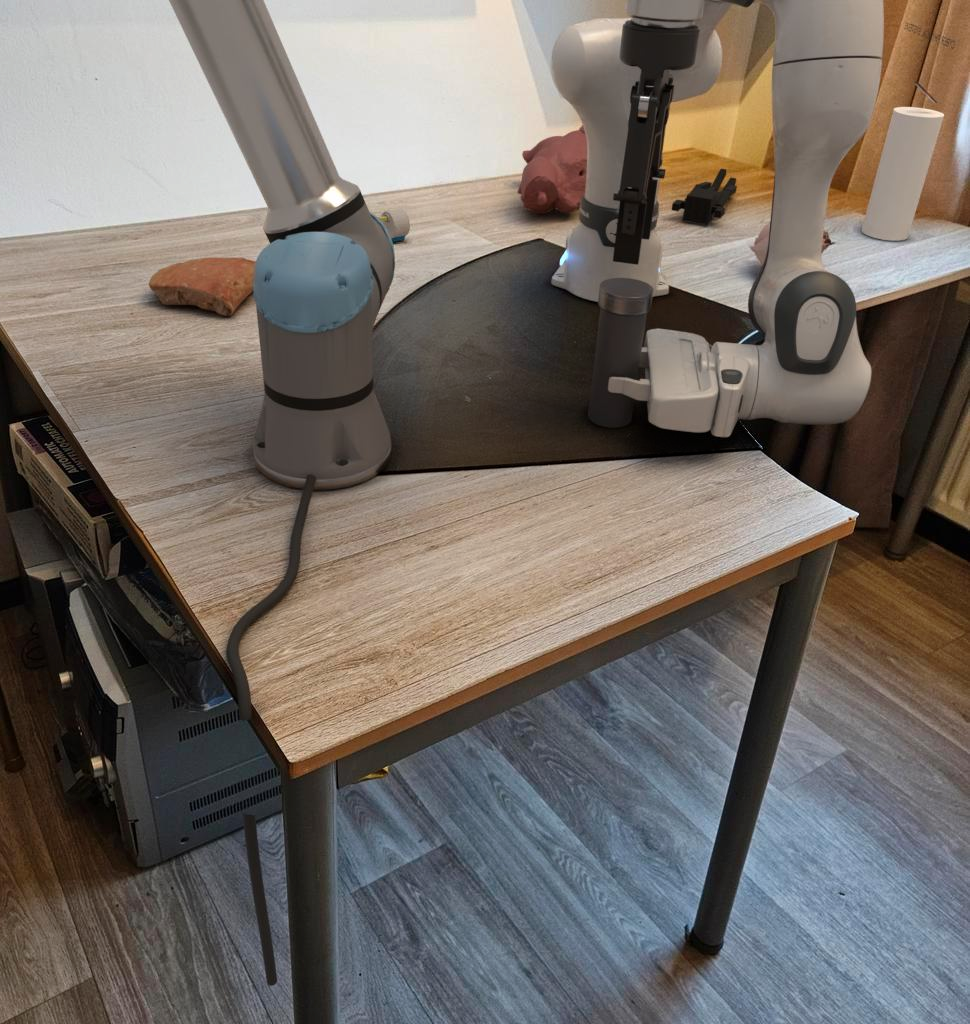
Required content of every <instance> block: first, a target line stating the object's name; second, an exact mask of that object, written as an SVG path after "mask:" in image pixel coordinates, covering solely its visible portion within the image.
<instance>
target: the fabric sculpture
mask: <svg viewBox="0 0 970 1024" xmlns="http://www.w3.org/2000/svg"><path fill="white" fill-rule="evenodd" d="M521 156H522V158H523V160H524V162H525V163H526V164H525V166H524V168H523V170H522V172H521V173H522V174H521V180H520V181H521V182H520V185H519V186H518V189H517V194H518V195H520V200H521V202H522V203H523V207H524V209H525V210H529V211H530V212H532V213H535V214H546V213H549V212H551V211H552V210H553V209H554V208H555V209H556V210H557V211H559V212H560V213H564V214H569V213H573V212H575V211H578V210H579V209H580V204H581V199H582V196H583V195H584V194H585V185H586V172H587V140H586V135H585V131H584V127H583V124H581V126H580V127H579V129H576V130H573V131H570V132H568V133H566V134H565V135H554V136H549V137H546V138H544V139H542V140H540V141H539V142H538V143H536V145H535V146H534V147H532V148H531V149H529V150H523V151H522V153H521Z"/></svg>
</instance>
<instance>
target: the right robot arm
mask: <svg viewBox="0 0 970 1024" xmlns="http://www.w3.org/2000/svg"><path fill="white" fill-rule="evenodd" d="M753 4H759V5H760V4H761V5H765V6H767V7H768V8H769V10H770V11H771V12H772V14H773V18H774V23H775V26H774V27H775V29H774V30H775V31H774V32H775V33H774V44H773V45H774V46H773V51H772V53H773V54H772V68H771V124H772V137H773V160H774V178H773V189H772V201H771V211H770V220H769V222H770V231H769V241H768V248H767V253H766V257H765V260H764V263H763V265H762V266H761V267H760V269H759V272H758V273H757V276H756V278H754V281H753V283H752V285H751V288H750V290H749V294H748V299H747V310H748V315H749V319H750V321H751V324H752V326H754V329H755V330H756V331H757V332H758V333H759V334H760V335H761V336H762V337H764V341H763V343H762V344H748V343H736V342H735V343H734V342H725V341H724V342H723V341H715V342H714V343H713V345H712V344H710V343H709V342H708V341H707V340H706V339H705V337H704V336H702V335H700V334H696V333H692V332H687V331H680V330H673V329H665V328H651V329H649V330H647V331H646V332H645V337H644V338H645V339H644V344H643V346H642V350H641V357H640V364H639V368H642V369H643V368H644V378H639V380H638V379H637V380H634V379H630V378H626V377H625V376H624V374H614V373H612V374H610V375H609V380H608V391H609V392H612V393H623V394H624V395H627V396H629V397H631V398H634V400H636V401H642V402H646V405H647V406H646V407H647V419H648V422H649V423H650V424H651V425H653V426H654V427H657V428H659V429H664V430H670V431H678V432H679V431H680V432H686V433H698V434H699V433H707V432H709V431H710V433H711V435H712V436H714V437H720V438H728V437H730V436H731V435H732V433H733V431H734V428H735V426H736V424H737V422H738V421H739V420H743V421H744V420H746V421H751V420H757V419H769V420H773V421H776V422H778V423H781V424H791V425H806V426H809V425H810V426H822V425H823V426H824V425H825V426H826V425H836V424H842V423H846V422H848V421H849V420H851V419H853V418H854V417H855V416H856V415H857V414H858V412H859V411H860V410H861V409H862V408H863V406H864V404H865V403H866V400H867V398H868V396H869V392H870V390H871V385H872V376H873V372H872V371H873V370H872V364H871V363H870V362H869V360H868V358H866V355H865V354H864V351H863V347H862V344H861V342H860V337H859V332H858V325H857V302H856V301H857V300H856V298H855V294H854V292H853V291H852V288H851V287H850V285H849V284H848V283H847V282H846V281H845V280H844V279H843V278H841V277H840V276H838V275H837V274H835V273H832V272H830V271H827V270H825V267H824V264H823V263H824V262H823V258H822V254H821V250H822V241H823V233H824V230H825V223H826V216H827V215H826V214H827V208H828V207H827V206H828V200H829V199H828V198H829V191H830V187H831V184H832V180H833V179H834V176H835V173H836V171H837V169H838V168H839V166H840V164H841V163H842V161H843V160H844V158H846V155H848V153H849V152H850V151H851V150H852V148H853V147H854V146H855V145H856V144H857V143H858V142H859V140H860V139H861V138H863V136H864V134H865V133H866V131H867V130H868V128H869V127H870V124H871V120H872V117H873V113H874V109H875V105H876V102H877V99H878V93H879V89H880V84H881V75H882V65H883V60H882V59H883V52H884V36H885V33H884V31H885V27H884V26H885V13H884V12H885V10H884V8H885V7H884V6H885V5H884V0H705V4H704V10H703V16H702V18H701V19H700V20H698V21H695V25H696V26H698V29H699V30H700V32H699V39H698V46H697V52H696V59H695V63H694V65H693V66H692V67H690V68H688V69H685V70H675V71H674V70H670V72H669V75H673V84H672V85H674V95H673V98H672V102H671V103H678V102H681V101H685V100H688V99H692V98H696V97H698V96H702V95H704V94H706V93H708V92H709V91H710V90H711V89H712V87H713V86H714V85H715V83H716V82H717V80H718V77H719V76H720V73H721V69H722V65H723V47H722V43H721V42H722V41H721V39H720V37H719V35H718V32H717V31H716V29H717V27H718V25H719V24H720V23H721V21H722V20H723V19H724V17H725V16H726V14H727V13H728V12H729V10H730V9H731V8H732V6H733V5H737V6H739V7H742V8H749V7H750V6H751V5H753ZM628 20H631V17H624V18H623V17H618V18H617V17H610V18H609V17H603V18H602V17H601V18H599V17H598V18H594V19H590V20H585V21H581V22H578V23H575V24H574V23H573V24H571V25H567V26H566V27H564V28H563V29H562V31H561V32H560V33H559V35H558V36H557V38H556V40H555V42H554V44H553V47H552V50H551V54H550V66H549V67H550V74H551V79H552V81H553V84H554V86H555V88H556V90H557V91H558V93H559V94H560V95H561V97H562V98H563V99H564V100H566V102H568V103H569V104H570V106H572V108H573V109H574V110H575V112H576V114H577V116H578V118H579V120H580V122H581V125H583V127H584V131H585V135H586V140H587V172H586V185H585V194H584V195H583V196H582V199H581V204H580V207H579V208H578V210H579V215H578V221H579V223H578V225H577V226H576V227H575V228H573V230H572V231H571V232H570V233H568V234H567V235H566V239H565V248H566V249H565V251H564V253H563V254H562V256H561V258H560V260H559V267H558V269H556V271H555V272H554V274H553V275H552V276H551V279H550V284H551V285H552V286H555V287H557V288H561V289H562V290H563V289H564V290H566V291H567V292H569V293H570V294H573V296H576V297H578V298H581V299H584V300H588V301H590V302H591V301H592V302H596V303H598V297H599V289H600V284H601V282H603V281H604V280H607V279H612V278H630V279H636V280H640V281H643V282H646V283H648V284H649V285H651V286H652V287H653V290H654V291H653V298H654V297H660V296H665V295H668V294H669V293H670V286H669V284H668V283H667V281H666V280H665V278H664V276H662V274H661V269H662V268H661V267H662V259H663V252H664V241H663V240H662V238H661V236H660V235H658V233H657V231H656V229H655V228H656V227H657V224H658V219H659V215H660V212H659V211H660V210H659V208H660V203H659V201H658V196H659V190H660V189H659V188H660V183H661V178H654V177H653V179H655V180H658V183H657V190H656V197H655V204H654V211H653V218H652V225H651V232H650V238H649V240H647V239H642V242H641V249H640V257H639V263H638V265H636V264H628V263H621V262H614V261H613V255H614V246H615V238H616V230H617V222H618V214H619V205H620V201H615V200H613V195H614V193H615V194H618V191H619V190H620V183H621V176H622V169H623V162H624V155H625V148H626V141H627V134H628V122H629V116H630V110H631V103H630V95H631V89H632V86H635V83H636V81H639V79H640V74H641V69H640V68H639V67H635V66H634V67H632V66H629V65H626V64H624V63H623V62H622V61H621V60H620V57H619V55H620V46H621V37H622V28H623V24H625V22H626V21H628ZM663 154H664V153H662V160H664V155H663ZM662 163H663V161H662ZM659 169H663V164H662V165H661V166H660V168H659ZM628 188H632V187H628Z"/></svg>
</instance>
